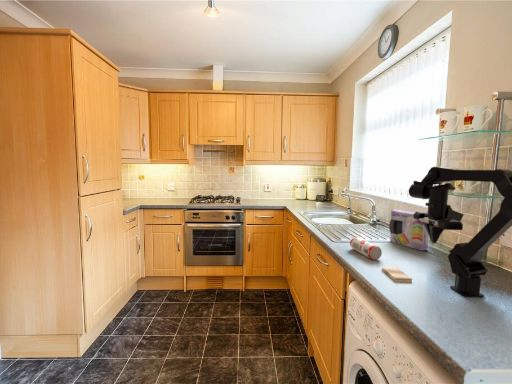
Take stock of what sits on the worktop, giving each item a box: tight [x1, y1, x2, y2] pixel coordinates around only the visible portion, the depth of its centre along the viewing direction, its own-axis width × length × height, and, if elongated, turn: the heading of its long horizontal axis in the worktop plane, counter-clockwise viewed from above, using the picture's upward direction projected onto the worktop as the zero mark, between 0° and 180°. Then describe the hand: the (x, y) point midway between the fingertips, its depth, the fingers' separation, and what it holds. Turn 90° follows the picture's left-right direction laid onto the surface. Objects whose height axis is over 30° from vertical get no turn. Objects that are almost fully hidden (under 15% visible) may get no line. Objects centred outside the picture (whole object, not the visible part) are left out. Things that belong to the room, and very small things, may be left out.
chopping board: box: [381, 266, 413, 283], centre depth 99 cm, size 10×6×1 cm, turn 179°
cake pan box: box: [388, 209, 429, 251], centre depth 135 cm, size 19×5×18 cm, turn 23°
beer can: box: [349, 237, 383, 261], centre depth 121 cm, size 6×6×16 cm
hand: (433, 242), depth 97 cm, fingers closed
